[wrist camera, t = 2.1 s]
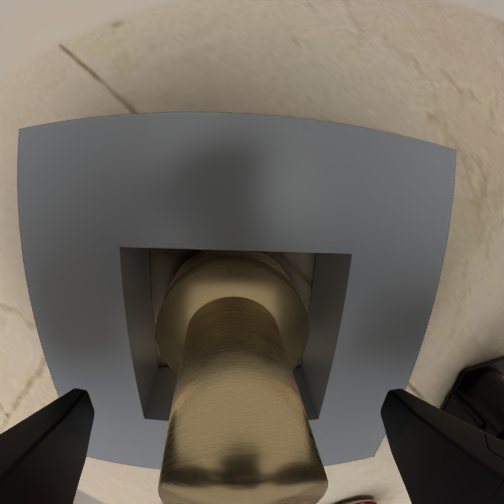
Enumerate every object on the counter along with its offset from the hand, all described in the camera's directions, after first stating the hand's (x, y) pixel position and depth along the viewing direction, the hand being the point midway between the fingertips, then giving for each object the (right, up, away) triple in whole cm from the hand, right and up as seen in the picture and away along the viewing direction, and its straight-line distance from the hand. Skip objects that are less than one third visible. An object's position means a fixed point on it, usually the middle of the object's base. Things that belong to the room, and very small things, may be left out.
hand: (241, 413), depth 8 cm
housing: (-1, +2, +7) cm, 7 cm away
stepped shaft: (-1, +2, +7) cm, 7 cm away
